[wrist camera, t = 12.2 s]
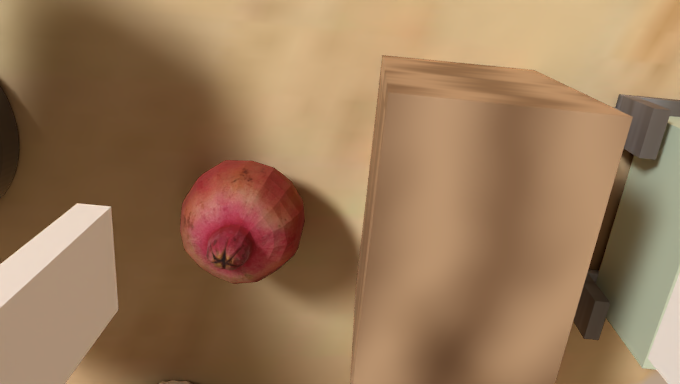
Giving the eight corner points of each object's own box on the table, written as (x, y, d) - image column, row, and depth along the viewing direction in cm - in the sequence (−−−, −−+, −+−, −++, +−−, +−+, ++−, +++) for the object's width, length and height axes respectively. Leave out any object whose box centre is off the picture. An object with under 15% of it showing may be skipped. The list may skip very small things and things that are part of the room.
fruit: (263, 121, 37) (226, 165, 28) (333, 208, 39) (321, 276, 30) (180, 185, 39) (120, 246, 30) (251, 264, 41) (215, 344, 32)
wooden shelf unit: (355, 291, 41) (347, 429, 28) (382, 55, 35) (388, 92, 22) (641, 321, 41) (768, 477, 28) (722, 88, 34) (937, 147, 21)
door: (591, 297, 40) (642, 368, 32) (646, 113, 35) (722, 146, 27) (644, 303, 39) (708, 375, 32) (708, 119, 34) (801, 154, 27)
